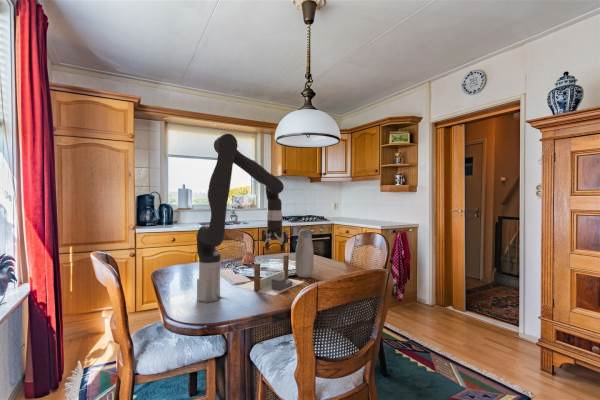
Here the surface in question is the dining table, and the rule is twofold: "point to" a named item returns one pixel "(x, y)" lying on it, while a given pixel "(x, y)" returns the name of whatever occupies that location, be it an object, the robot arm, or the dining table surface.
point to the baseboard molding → (233, 277)
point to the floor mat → (269, 287)
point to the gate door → (270, 279)
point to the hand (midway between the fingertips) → (274, 250)
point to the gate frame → (257, 272)
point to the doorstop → (280, 283)
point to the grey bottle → (304, 254)
